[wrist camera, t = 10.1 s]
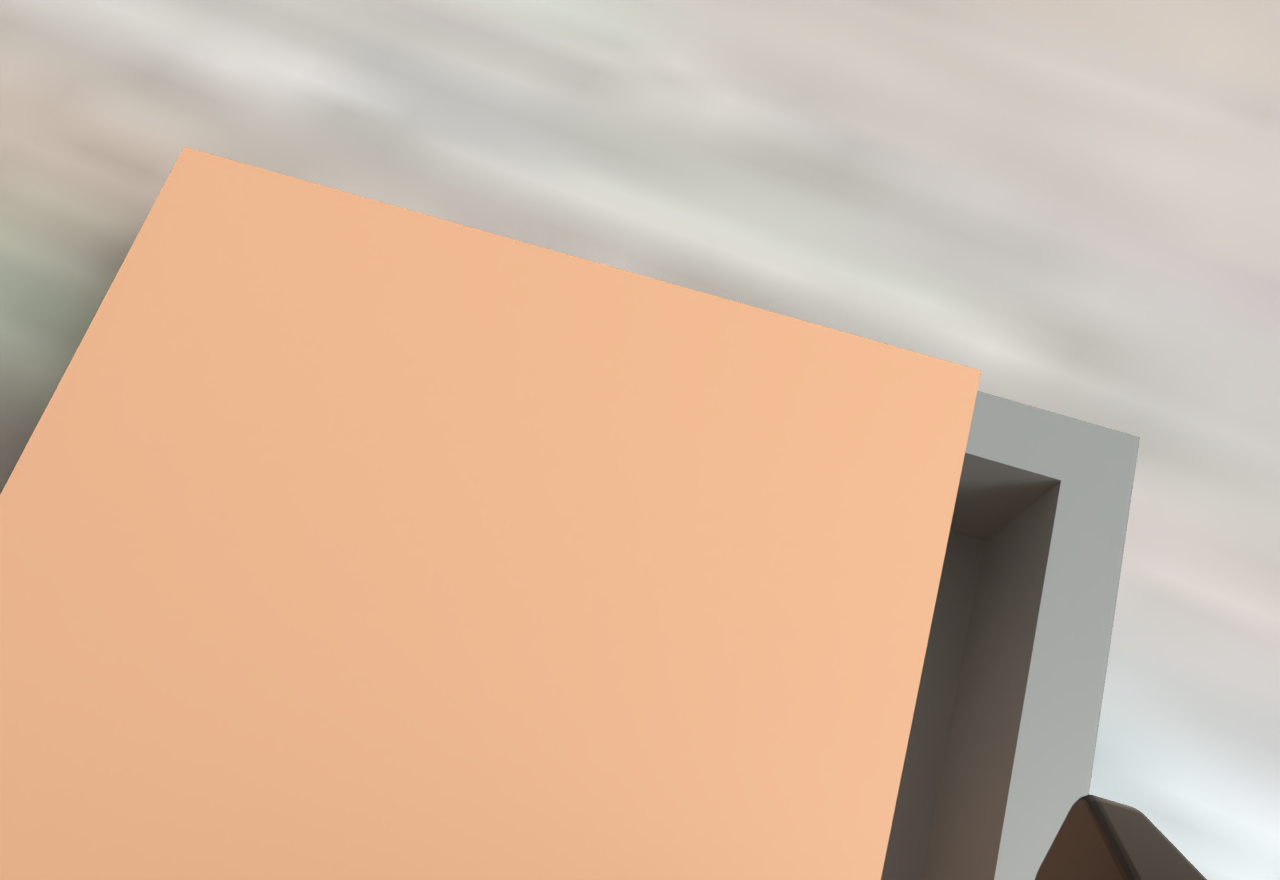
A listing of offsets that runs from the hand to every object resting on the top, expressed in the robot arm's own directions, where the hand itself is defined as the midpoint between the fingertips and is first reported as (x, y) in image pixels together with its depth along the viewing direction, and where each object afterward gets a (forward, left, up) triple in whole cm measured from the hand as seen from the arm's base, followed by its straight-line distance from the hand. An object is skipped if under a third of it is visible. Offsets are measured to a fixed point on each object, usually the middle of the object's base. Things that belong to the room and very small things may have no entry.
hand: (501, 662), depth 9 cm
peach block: (0, 0, -9) cm, 9 cm away
